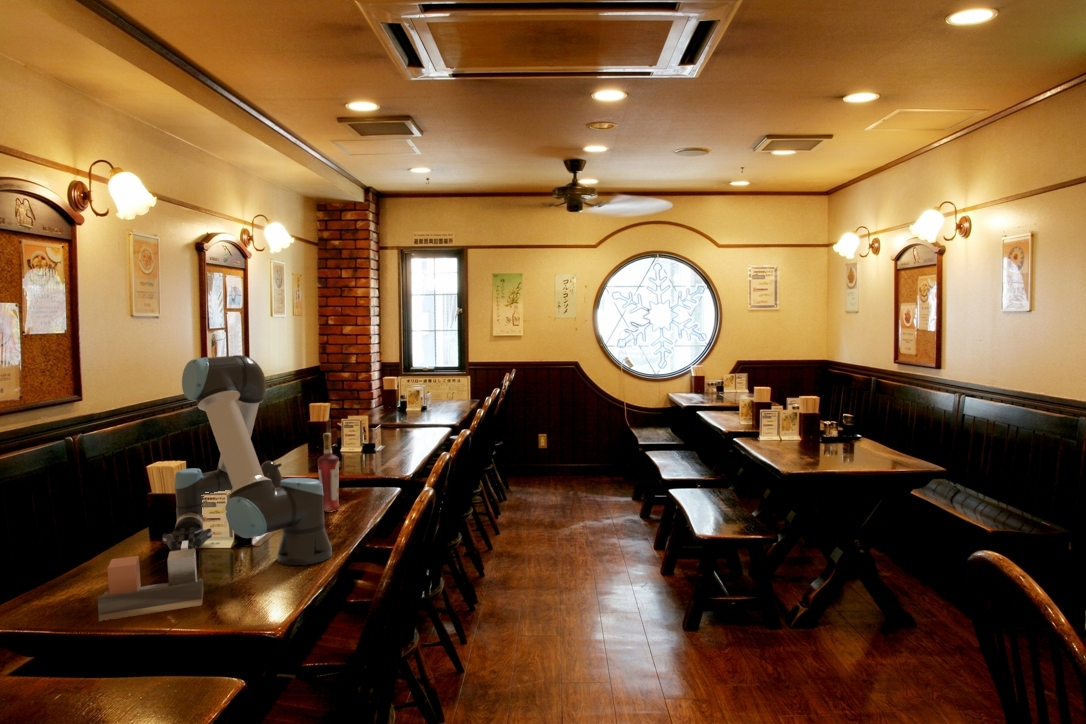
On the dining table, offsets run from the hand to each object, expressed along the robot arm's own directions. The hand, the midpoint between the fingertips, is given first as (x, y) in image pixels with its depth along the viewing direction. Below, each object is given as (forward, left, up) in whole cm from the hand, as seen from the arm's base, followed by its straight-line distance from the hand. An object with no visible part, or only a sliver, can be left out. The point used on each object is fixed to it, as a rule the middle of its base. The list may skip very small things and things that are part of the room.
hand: (184, 552), depth 197 cm
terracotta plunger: (+10, +13, -6) cm, 17 cm away
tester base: (+3, +15, -8) cm, 18 cm away
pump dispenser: (-3, -84, -8) cm, 84 cm away
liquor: (-28, -64, -8) cm, 71 cm away
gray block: (-3, +9, -6) cm, 12 cm away
